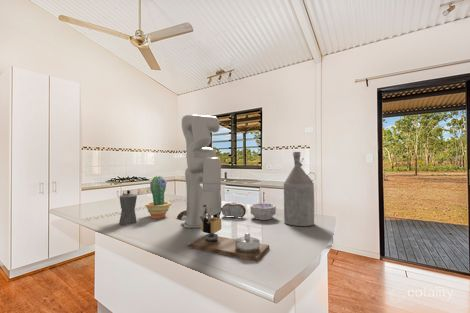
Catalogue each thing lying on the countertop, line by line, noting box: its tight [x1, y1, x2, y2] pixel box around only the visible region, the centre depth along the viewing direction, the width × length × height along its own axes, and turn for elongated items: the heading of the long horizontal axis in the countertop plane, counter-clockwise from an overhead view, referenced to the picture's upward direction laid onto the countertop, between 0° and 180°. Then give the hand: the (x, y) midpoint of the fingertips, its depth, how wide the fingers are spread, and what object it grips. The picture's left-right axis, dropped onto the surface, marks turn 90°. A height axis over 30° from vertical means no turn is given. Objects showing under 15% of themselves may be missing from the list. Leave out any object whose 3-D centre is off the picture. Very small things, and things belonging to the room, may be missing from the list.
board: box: [188, 234, 270, 263], centre depth 91 cm, size 29×13×2 cm, turn 63°
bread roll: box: [176, 209, 187, 221], centre depth 141 cm, size 13×12×5 cm
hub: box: [235, 232, 260, 254], centre depth 86 cm, size 9×9×6 cm
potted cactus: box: [144, 175, 172, 219], centre depth 144 cm, size 15×15×25 cm
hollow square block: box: [200, 216, 222, 234], centre depth 96 cm, size 6×6×4 cm
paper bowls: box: [249, 202, 277, 221], centre depth 139 cm, size 15×15×8 cm
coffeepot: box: [118, 189, 138, 226], centre depth 129 cm, size 15×9×18 cm, turn 44°
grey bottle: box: [283, 151, 317, 227], centre depth 128 cm, size 13×17×40 cm
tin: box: [221, 202, 247, 218], centre depth 141 cm, size 15×3×8 cm, turn 74°
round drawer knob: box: [205, 233, 218, 242], centre depth 95 cm, size 5×5×4 cm
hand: (211, 230), depth 96 cm, fingers closed on hollow square block, 5 cm apart
